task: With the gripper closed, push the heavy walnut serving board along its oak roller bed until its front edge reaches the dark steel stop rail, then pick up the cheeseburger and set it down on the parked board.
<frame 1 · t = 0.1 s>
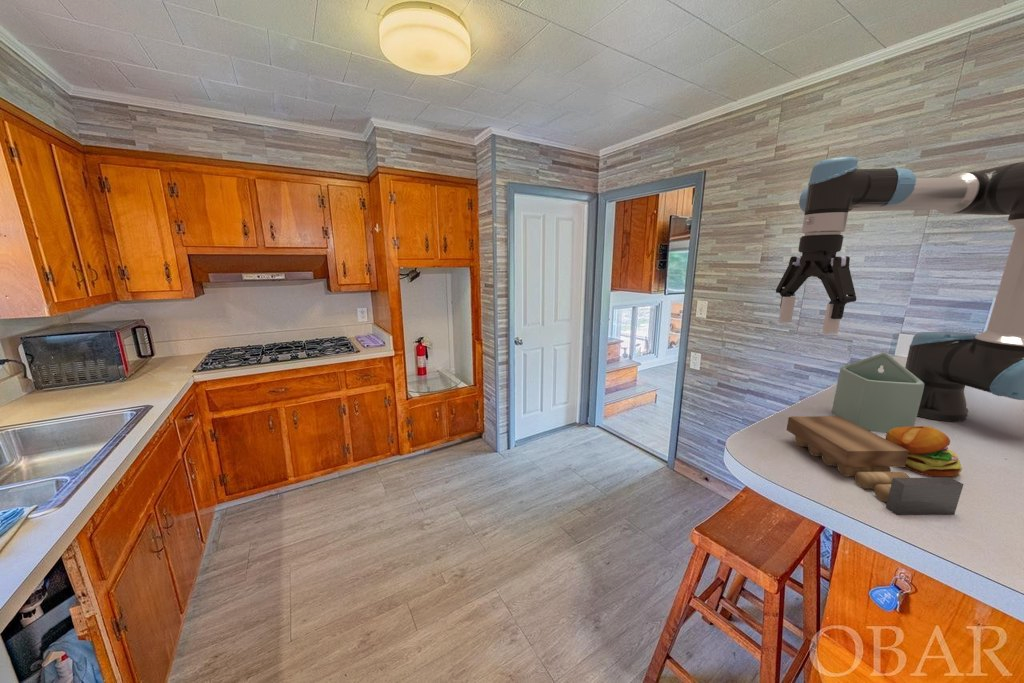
hand: (805, 327, 87), 28 cm above the countertop, fingers open, 13 cm apart
cheeseburger: (919, 467, 78), on the countertop
stop rail: (919, 510, 65), on the countertop
board: (841, 439, 80), point 5 cm above the countertop, slide at 0.0 cm
roller bed: (853, 469, 78), on the countertop
planter: (863, 426, 97), on the countertop
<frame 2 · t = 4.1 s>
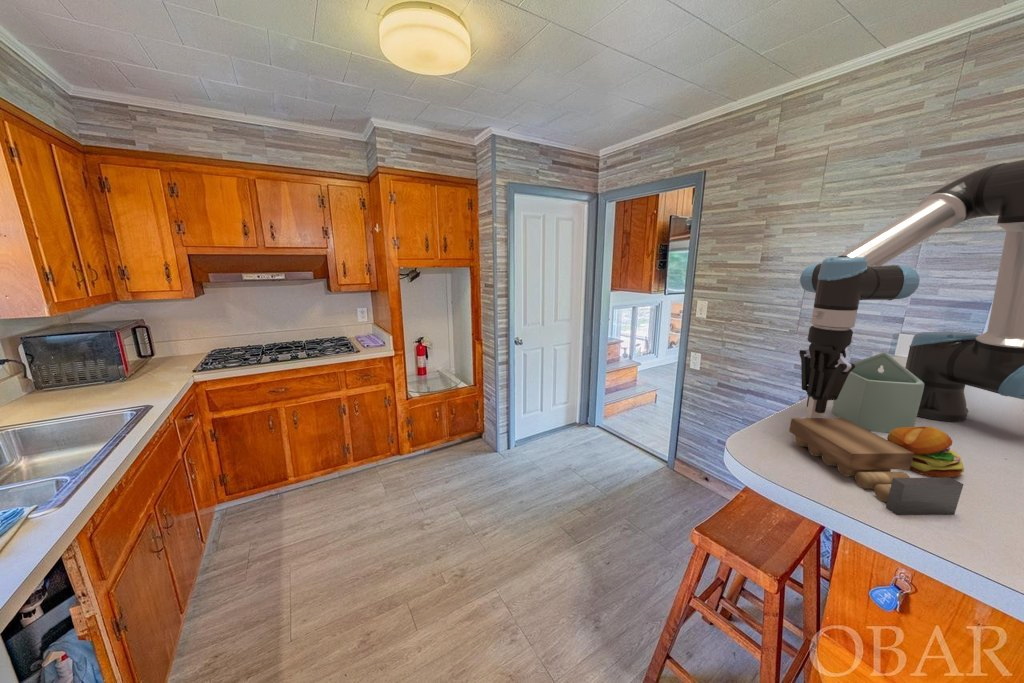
hand: (812, 422, 88), 5 cm above the countertop, fingers closed
board: (845, 441, 80), point 5 cm above the countertop, slide at 0.9 cm, touching gripper
everything else where it was.
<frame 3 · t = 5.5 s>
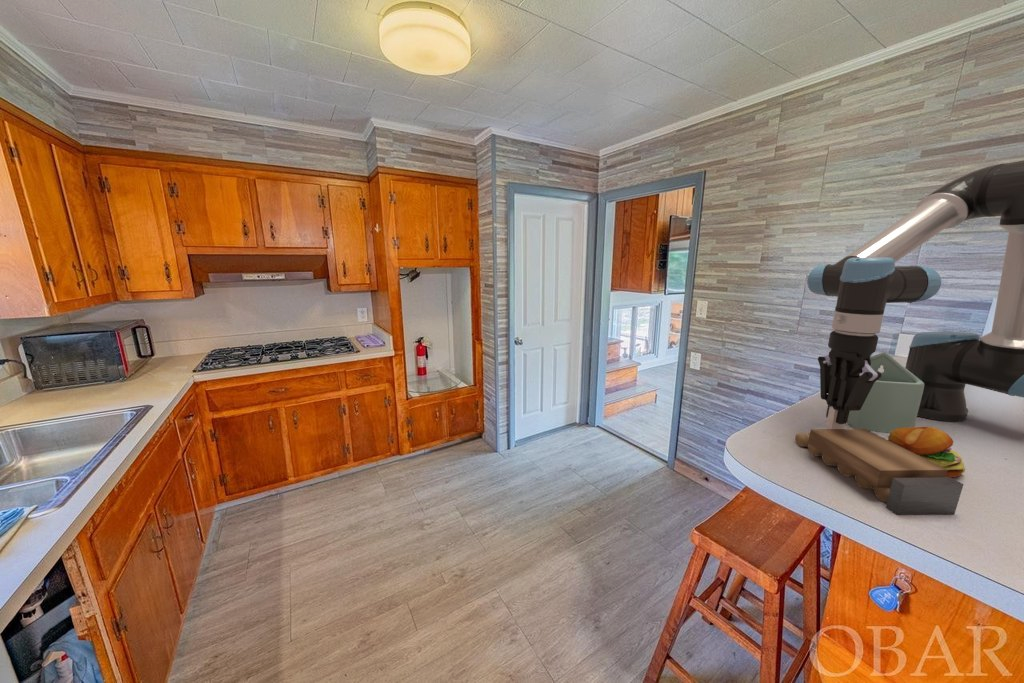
hand: (833, 434, 82), 5 cm above the countertop, fingers closed
board: (870, 455, 74), point 5 cm above the countertop, slide at 6.6 cm, touching gripper
everything else where it was.
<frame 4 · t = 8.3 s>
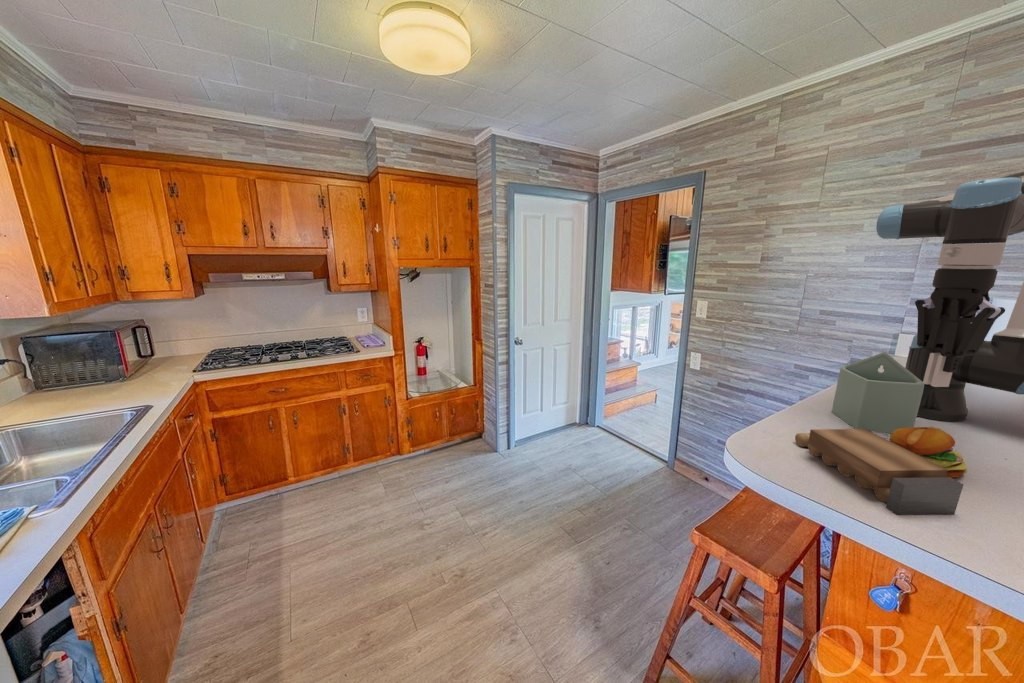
hand: (935, 384, 75), 18 cm above the countertop, fingers closed
board: (870, 455, 74), point 5 cm above the countertop, slide at 6.7 cm
everything else where it was.
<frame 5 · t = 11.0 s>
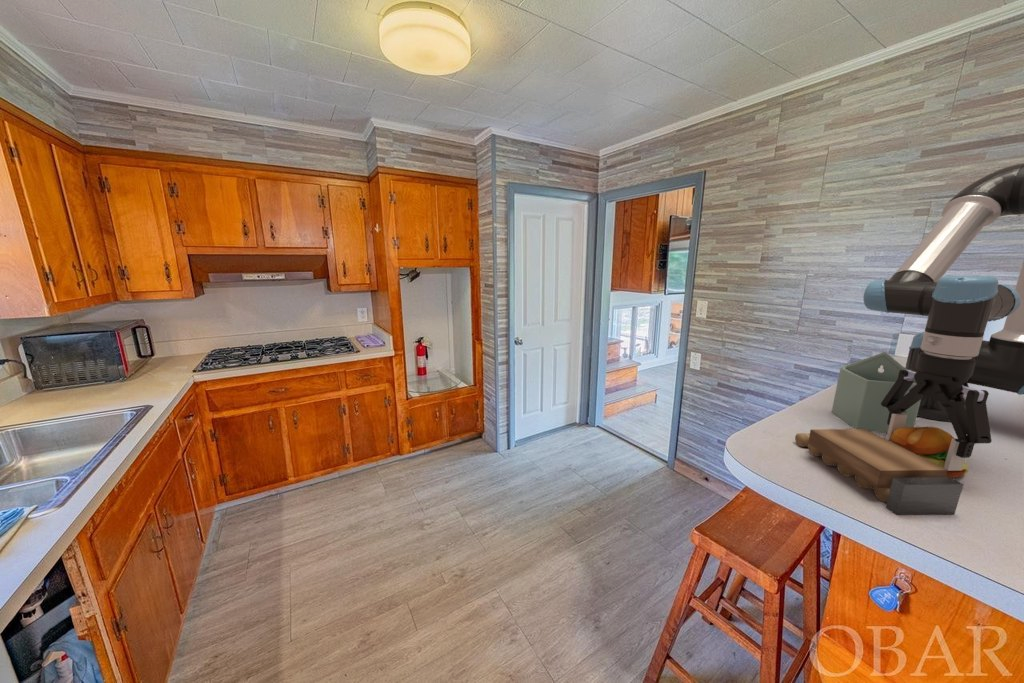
hand: (920, 454, 78), 3 cm above the countertop, fingers closed on cheeseburger, 11 cm apart
cheeseburger: (924, 468, 78), on the countertop, touching gripper
everything else where it was.
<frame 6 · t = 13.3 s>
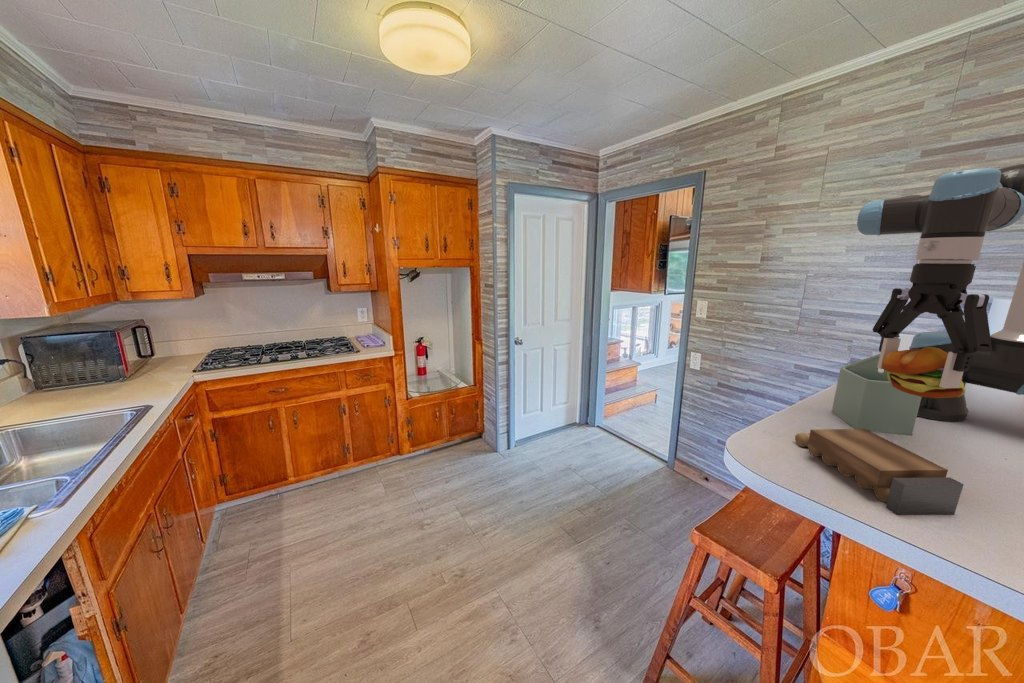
hand: (914, 377, 72), 21 cm above the countertop, fingers closed on cheeseburger, 11 cm apart
cheeseburger: (918, 392, 72), point 18 cm above the countertop, touching gripper
everything else where it was.
when the fingers open (11 cm above the countertop, at t = 15.7 s): cheeseburger drops 1 cm, resting on board.
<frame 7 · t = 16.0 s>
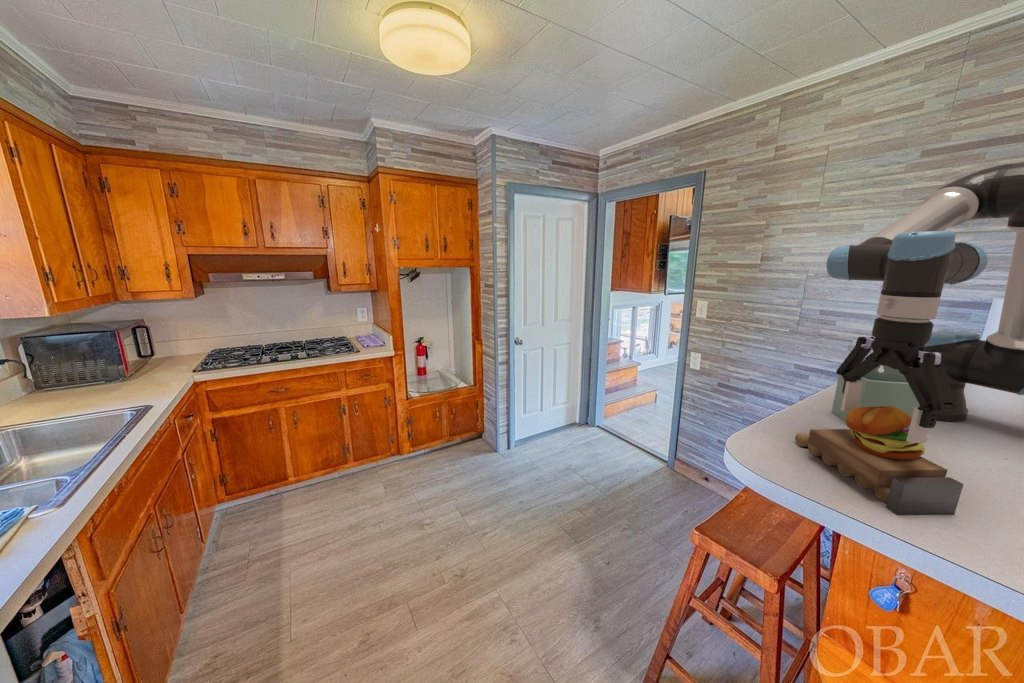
hand: (879, 425, 72), 12 cm above the countertop, fingers open, 13 cm apart
cheeseburger: (880, 450, 73), point 6 cm above the countertop, touching board
board: (869, 455, 74), point 5 cm above the countertop, slide at 6.6 cm, touching cheeseburger
everything else where it was.
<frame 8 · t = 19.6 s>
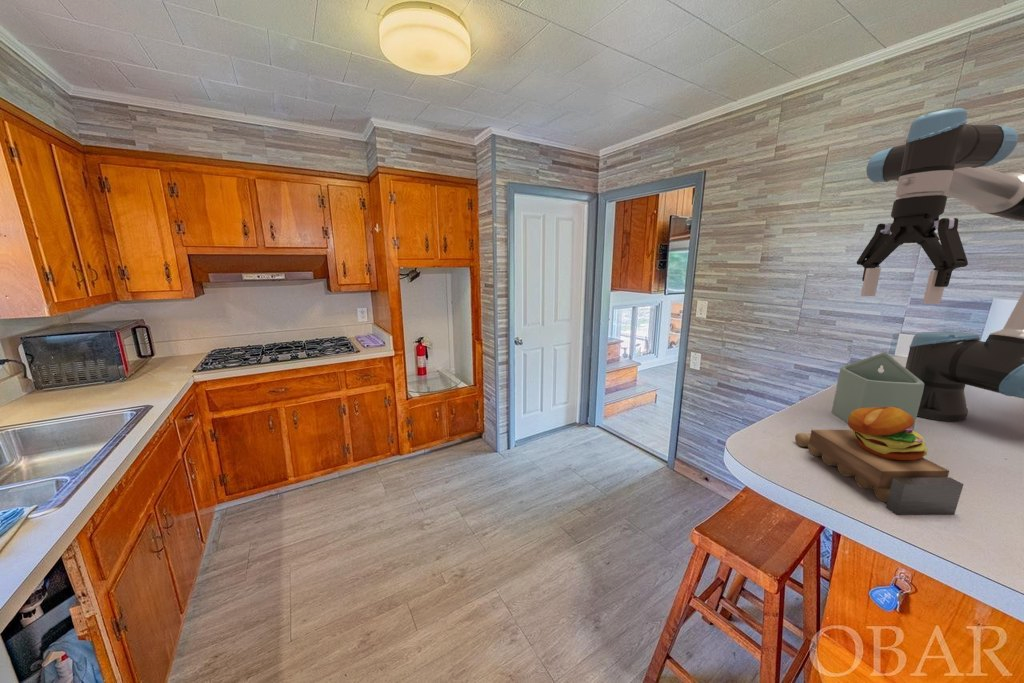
hand: (896, 299, 80), 35 cm above the countertop, fingers open, 13 cm apart
board: (871, 456, 74), point 5 cm above the countertop, slide at 6.9 cm, touching cheeseburger
everything else where it was.
at the end: board slide at 6.9 cm; cheeseburger inside the target area on the board (1.4 cm from its centre), point 3.3 cm above the board's base; the gripper is holding nothing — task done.
